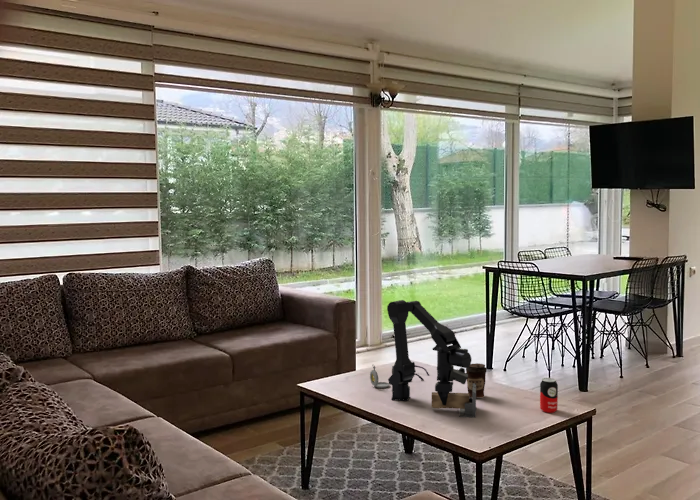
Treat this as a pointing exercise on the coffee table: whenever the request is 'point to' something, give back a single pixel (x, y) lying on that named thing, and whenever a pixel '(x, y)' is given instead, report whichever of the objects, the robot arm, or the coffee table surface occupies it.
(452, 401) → the rail
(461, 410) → the bracket
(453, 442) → the coffee table surface
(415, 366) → the sunglasses
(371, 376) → the pocket watch
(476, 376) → the coffee cup
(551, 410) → the beverage can
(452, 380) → the robot arm
